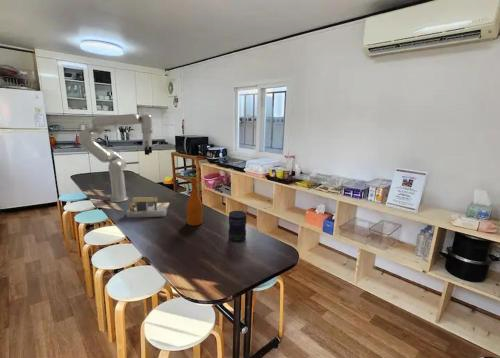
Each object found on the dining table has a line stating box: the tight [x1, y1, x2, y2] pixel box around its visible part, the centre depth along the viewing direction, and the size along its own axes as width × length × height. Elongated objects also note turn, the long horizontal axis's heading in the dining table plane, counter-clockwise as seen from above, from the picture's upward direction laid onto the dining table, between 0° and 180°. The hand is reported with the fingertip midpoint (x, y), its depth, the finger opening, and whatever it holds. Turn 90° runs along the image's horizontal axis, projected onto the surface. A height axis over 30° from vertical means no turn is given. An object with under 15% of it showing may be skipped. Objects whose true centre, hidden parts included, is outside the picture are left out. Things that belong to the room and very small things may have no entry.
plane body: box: [126, 200, 168, 219], centre depth 169 cm, size 24×9×9 cm, turn 100°
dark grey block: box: [135, 202, 149, 211], centre depth 168 cm, size 6×5×5 cm
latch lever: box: [132, 196, 158, 203], centre depth 167 cm, size 15×2×2 cm, turn 100°
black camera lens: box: [228, 210, 247, 244], centre depth 138 cm, size 10×10×15 cm
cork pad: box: [151, 202, 170, 209], centre depth 186 cm, size 11×11×1 cm
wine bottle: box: [185, 176, 204, 227], centre depth 155 cm, size 10×10×30 cm
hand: (148, 153), depth 193 cm, fingers open, 9 cm apart
